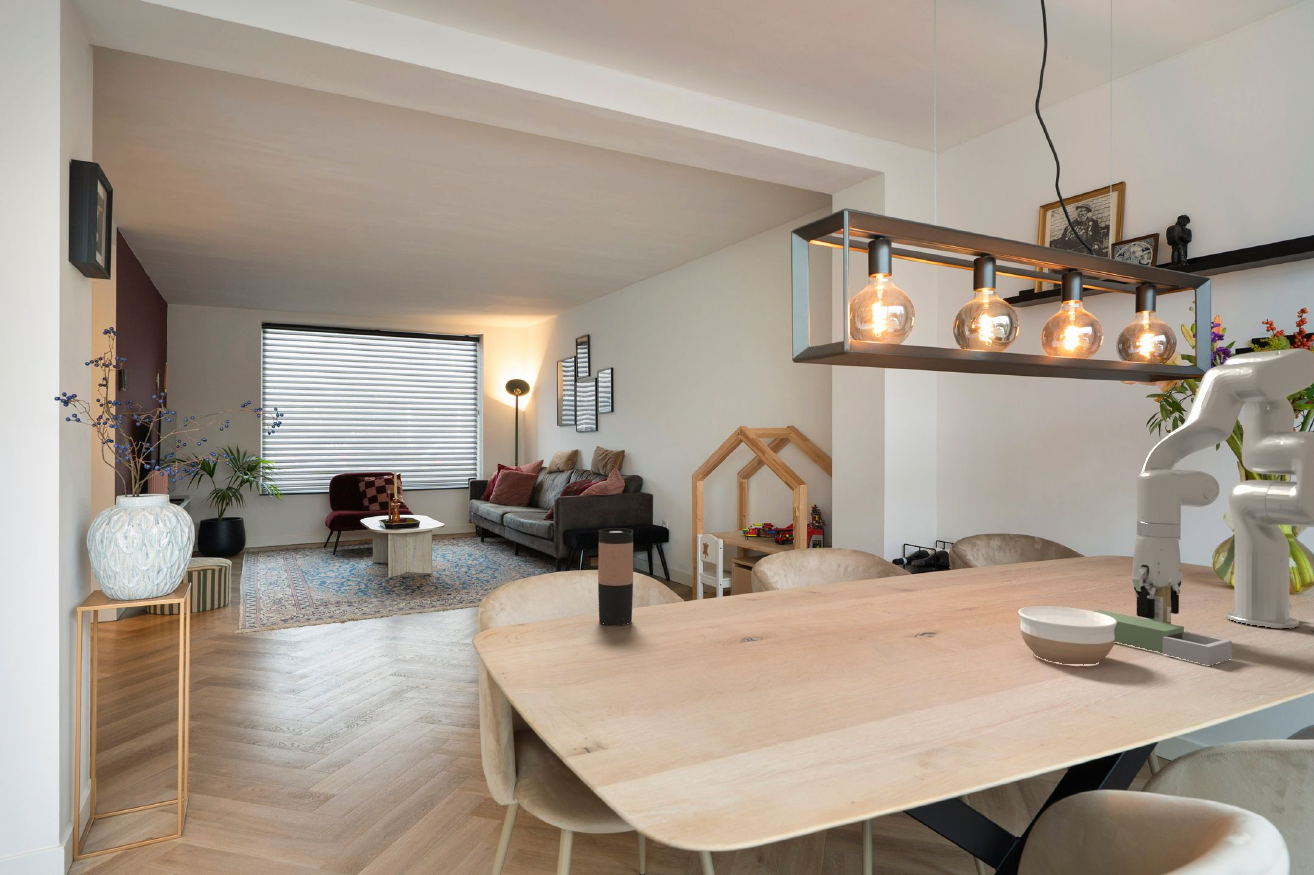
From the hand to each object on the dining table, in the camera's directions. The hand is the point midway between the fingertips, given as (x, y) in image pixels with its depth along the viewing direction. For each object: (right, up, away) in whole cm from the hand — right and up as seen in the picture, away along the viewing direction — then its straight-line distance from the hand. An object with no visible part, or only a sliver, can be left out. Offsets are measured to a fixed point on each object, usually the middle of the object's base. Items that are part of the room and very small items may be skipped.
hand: (1157, 614), depth 153 cm
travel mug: (-112, -4, +9) cm, 113 cm away
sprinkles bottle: (0, -5, 0) cm, 5 cm away
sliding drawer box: (-7, -4, -8) cm, 12 cm away
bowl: (-28, -4, -16) cm, 32 cm away
